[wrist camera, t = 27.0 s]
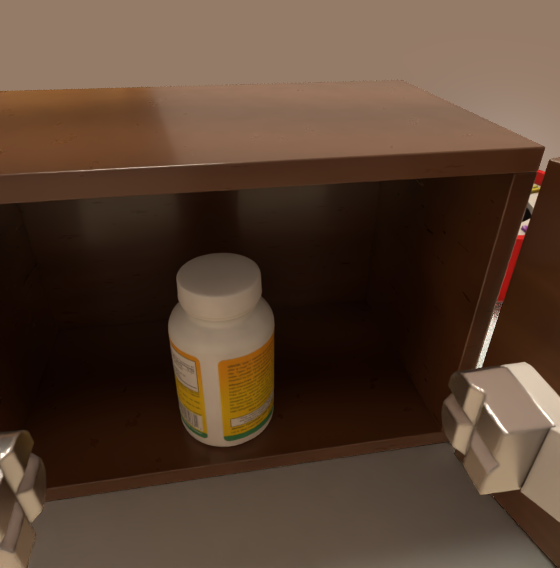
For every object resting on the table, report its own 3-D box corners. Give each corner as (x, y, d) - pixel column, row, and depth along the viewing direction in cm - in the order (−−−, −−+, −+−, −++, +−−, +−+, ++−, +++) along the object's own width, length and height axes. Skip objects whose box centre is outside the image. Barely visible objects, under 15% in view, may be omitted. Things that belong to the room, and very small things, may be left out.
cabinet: (453, 441, 27) (546, 146, 18) (-15, 511, 23) (-207, 185, 14) (372, 302, 39) (402, 79, 29) (50, 334, 35) (-32, 91, 26)
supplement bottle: (168, 444, 26) (140, 299, 20) (197, 375, 30) (180, 241, 25) (266, 456, 25) (263, 310, 20) (280, 384, 29) (282, 249, 24)
